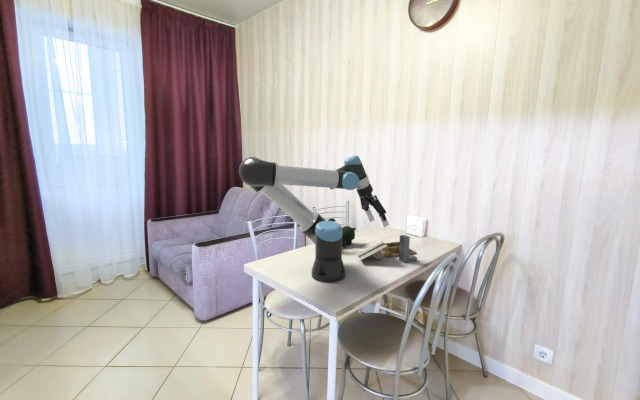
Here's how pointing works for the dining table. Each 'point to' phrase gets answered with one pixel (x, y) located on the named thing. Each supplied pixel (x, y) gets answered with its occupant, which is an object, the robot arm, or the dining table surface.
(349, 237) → the toy figurine
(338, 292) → the dining table surface
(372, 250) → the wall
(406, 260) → the bracket
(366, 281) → the dining table surface
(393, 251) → the brown wooden flat frame
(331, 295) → the dining table surface
